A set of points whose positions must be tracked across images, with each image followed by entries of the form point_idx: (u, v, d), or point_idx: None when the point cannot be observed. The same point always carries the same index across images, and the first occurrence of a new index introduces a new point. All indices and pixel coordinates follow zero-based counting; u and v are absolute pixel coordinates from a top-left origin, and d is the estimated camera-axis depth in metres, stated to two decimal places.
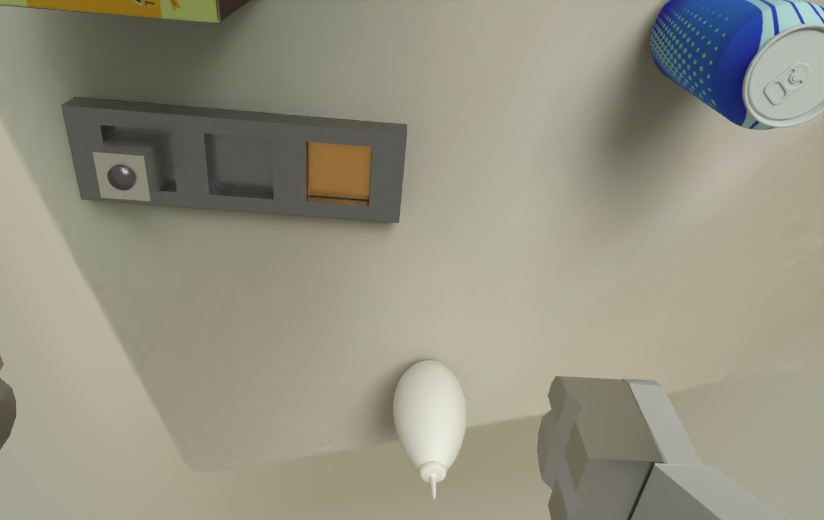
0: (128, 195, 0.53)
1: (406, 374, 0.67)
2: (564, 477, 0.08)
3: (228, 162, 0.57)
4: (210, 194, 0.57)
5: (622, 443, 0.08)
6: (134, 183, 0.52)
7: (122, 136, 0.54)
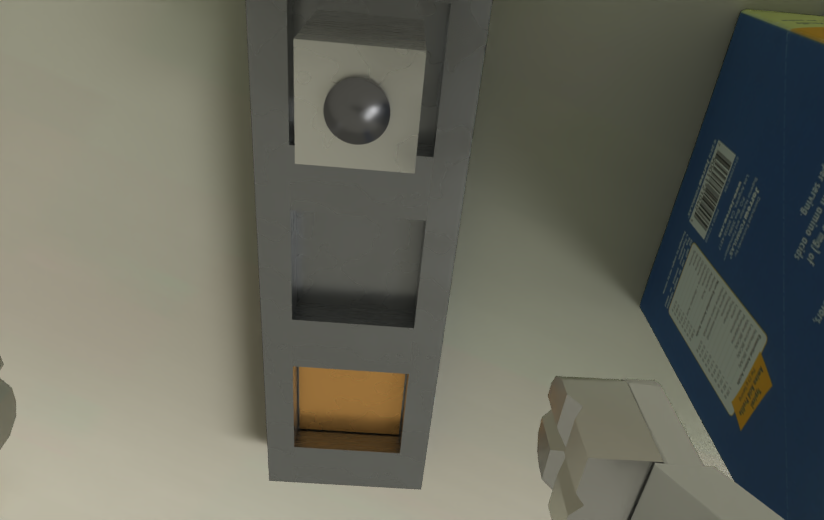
0: (307, 114, 0.20)
1: None
2: (564, 477, 0.08)
3: (354, 231, 0.29)
4: (290, 211, 0.27)
5: (622, 443, 0.08)
6: (341, 136, 0.21)
7: None
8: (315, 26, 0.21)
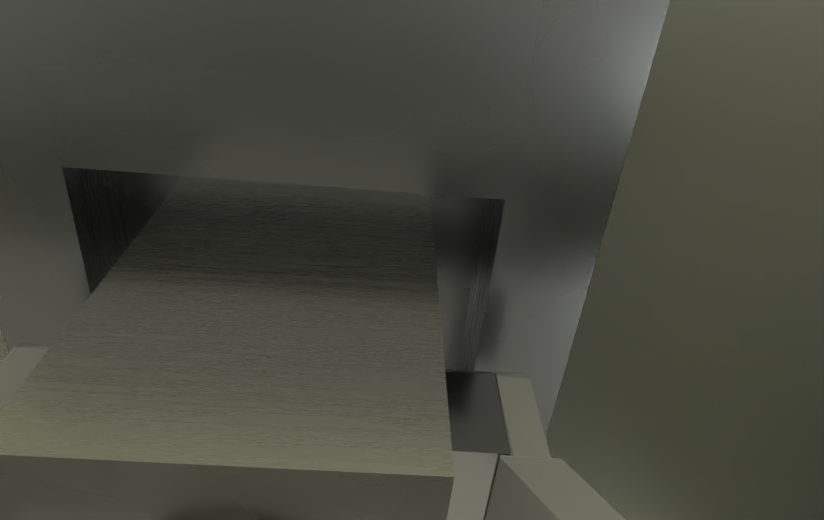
0: None
1: None
2: None
3: None
4: None
5: (472, 435, 0.08)
6: None
7: None
8: (119, 304, 0.07)
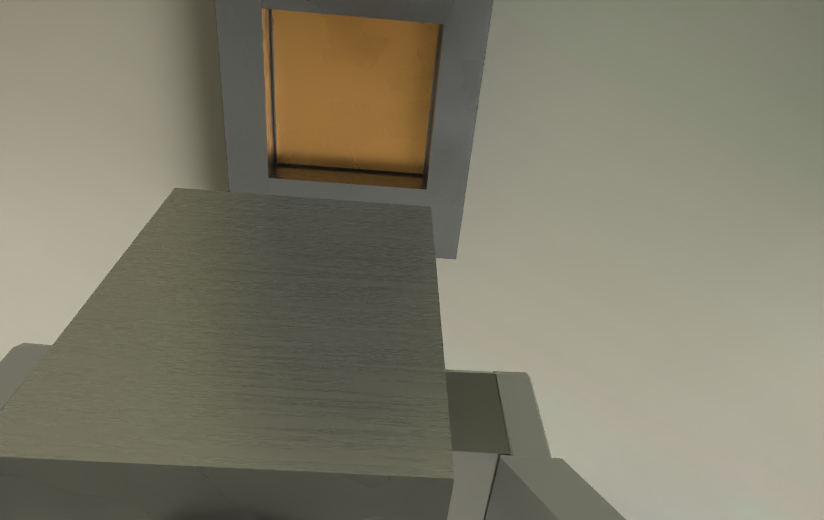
0: None
1: None
2: None
3: None
4: None
5: (472, 435, 0.08)
6: None
7: None
8: (119, 305, 0.07)
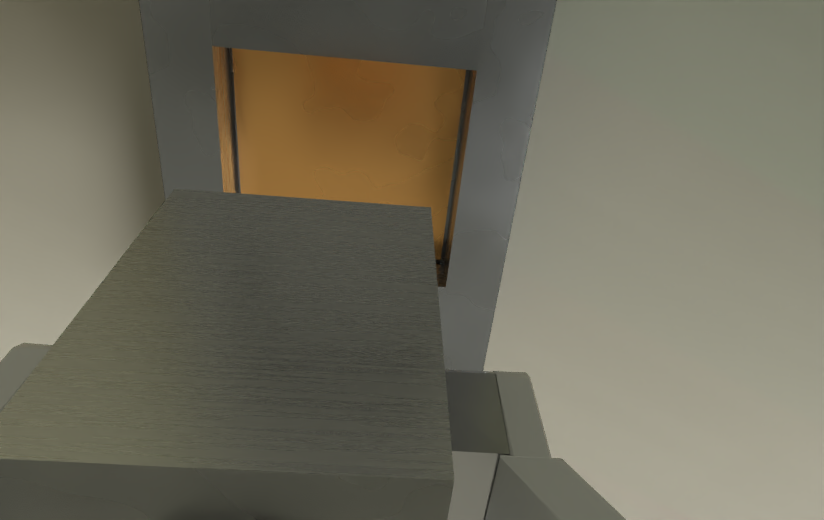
0: None
1: None
2: None
3: None
4: None
5: (472, 435, 0.08)
6: None
7: None
8: (118, 306, 0.07)
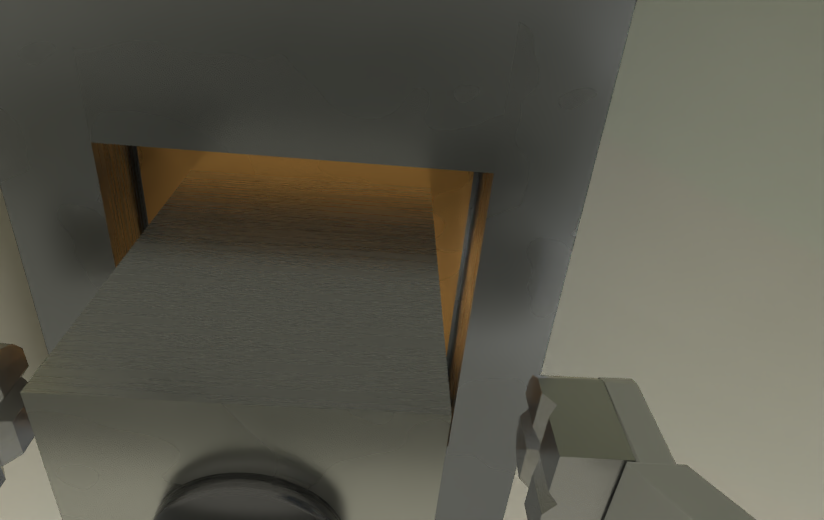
0: None
1: None
2: (539, 476, 0.08)
3: None
4: None
5: (595, 441, 0.08)
6: None
7: None
8: (145, 271, 0.08)
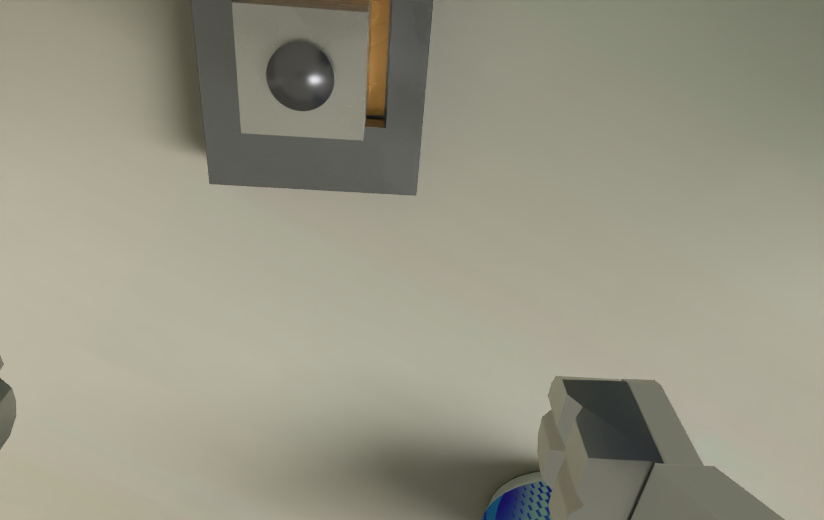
0: (250, 81, 0.20)
1: None
2: (564, 477, 0.08)
3: None
4: None
5: (622, 443, 0.08)
6: (287, 103, 0.20)
7: None
8: None
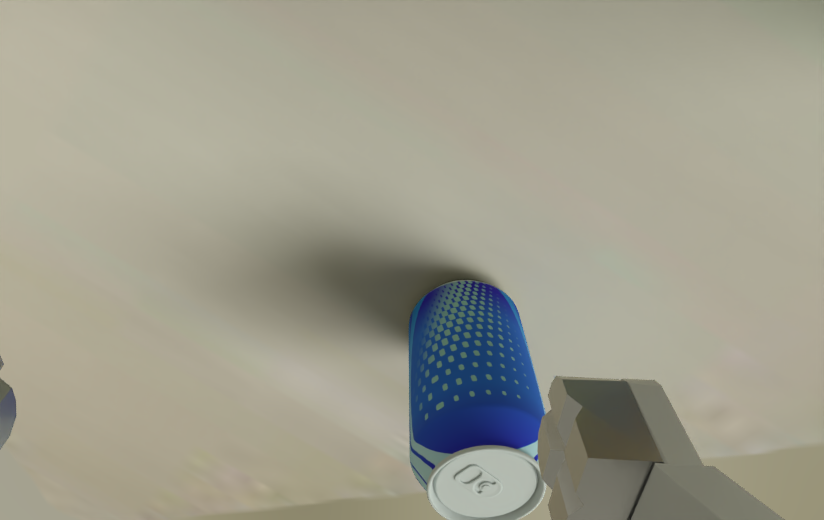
0: None
1: None
2: (564, 477, 0.08)
3: None
4: None
5: (622, 443, 0.08)
6: None
7: None
8: None
